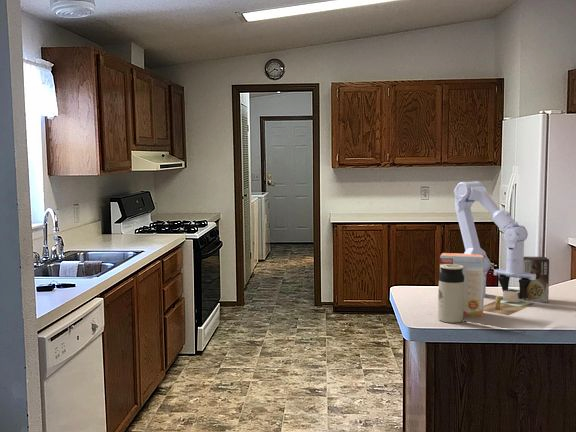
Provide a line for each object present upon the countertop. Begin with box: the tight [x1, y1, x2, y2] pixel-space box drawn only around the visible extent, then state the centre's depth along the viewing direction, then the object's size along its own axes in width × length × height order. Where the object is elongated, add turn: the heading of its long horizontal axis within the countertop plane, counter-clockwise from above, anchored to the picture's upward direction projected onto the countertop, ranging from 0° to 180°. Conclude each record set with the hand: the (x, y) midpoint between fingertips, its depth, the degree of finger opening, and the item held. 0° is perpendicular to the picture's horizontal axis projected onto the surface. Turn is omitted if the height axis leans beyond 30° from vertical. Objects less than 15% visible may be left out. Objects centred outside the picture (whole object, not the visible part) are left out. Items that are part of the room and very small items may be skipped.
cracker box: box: [439, 252, 485, 318], centre depth 207 cm, size 14×6×21 cm, turn 69°
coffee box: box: [518, 256, 550, 303], centre depth 229 cm, size 9×6×16 cm
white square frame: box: [502, 287, 524, 303], centre depth 221 cm, size 5×5×4 cm
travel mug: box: [437, 264, 464, 324], centre depth 201 cm, size 8×8×18 cm
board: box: [483, 295, 535, 316], centre depth 217 cm, size 12×22×6 cm, turn 137°
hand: (513, 297), depth 221 cm, fingers closed on white square frame, 5 cm apart
